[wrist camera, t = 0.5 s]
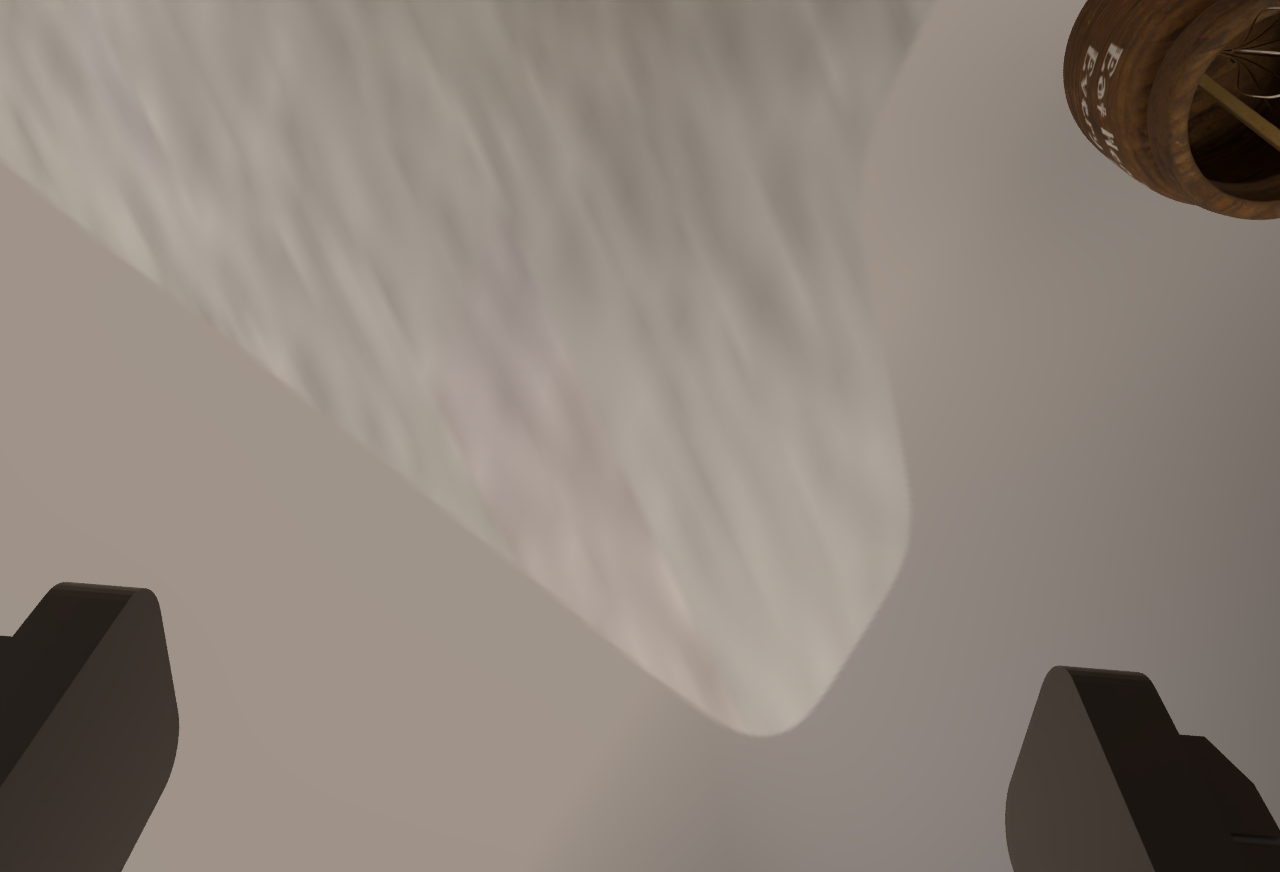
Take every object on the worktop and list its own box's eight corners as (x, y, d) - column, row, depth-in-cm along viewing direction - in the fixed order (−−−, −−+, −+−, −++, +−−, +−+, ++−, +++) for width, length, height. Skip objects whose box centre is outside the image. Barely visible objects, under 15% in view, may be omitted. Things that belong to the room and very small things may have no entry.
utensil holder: (1217, -121, 29) (1526, -91, 18) (1325, 77, 31) (1659, 207, 20) (1012, 35, 31) (1185, 145, 20) (1128, 211, 33) (1339, 394, 22)
